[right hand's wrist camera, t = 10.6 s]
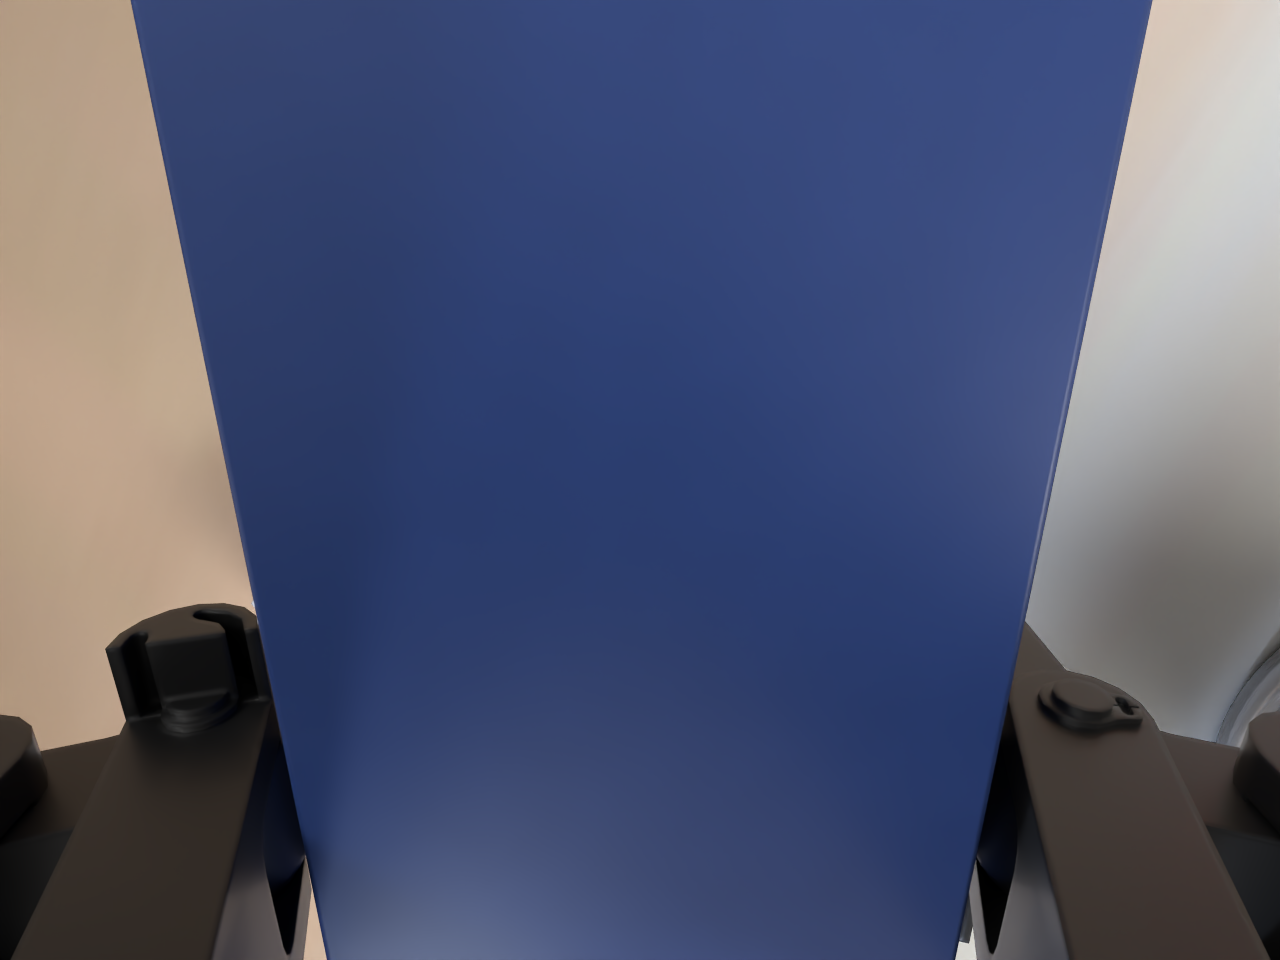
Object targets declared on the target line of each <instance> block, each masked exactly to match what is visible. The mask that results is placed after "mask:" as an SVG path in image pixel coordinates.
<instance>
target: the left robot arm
mask: <svg viewBox="0 0 1280 960" xmlns="http://www.w3.org/2000/svg"><path fill="white" fill-rule="evenodd" d="M1277 711H1280V648H1279V649H1278V650H1277V651H1276V652H1275V653H1274V654H1273V655H1272V656H1271V657H1269V658H1268V659H1267V660H1266V661H1265V662H1264V663H1263V664H1262V665H1261V667H1260V668H1259V669H1258V670H1257V671H1256V672H1255V673H1254V674H1253V675H1252V677H1251V678H1250V679H1249V680H1248V682H1247V683H1246V684H1245V686H1244V687H1243V688H1242V690H1241V691H1240V692H1239V694H1238V696H1237V697H1236V699H1235V700H1234V702H1233V704H1232V705H1231V707H1230V709H1229V711H1228V713H1227V715H1226V717H1225V719H1224V721H1223V723H1222V726H1221V729H1220V731H1219V734H1218V737H1217V741H1216V743H1219V744H1224V745H1229V746H1234V747H1239V748H1240V747H1241V744H1242V742H1243V739H1244V736H1245V733H1246V730H1247V727H1248V724H1249V722H1250V721H1252V720H1253V719H1254V718H1256V717H1257V716H1259V715H1260V714H1261V713H1268V712H1277Z"/></svg>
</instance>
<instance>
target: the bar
mask: <svg viewBox="0 0 1280 960" xmlns="http://www.w3.org/2000/svg"><path fill="white" fill-rule="evenodd" d="M131 4H132V9H133V14H134V19H135V24H136V29H137V33H138V38H139V43H140V48H141V53H142V58H143V63H144V68H145V73H146V77H147V82H148V87H149V92H150V97H151V102H152V107H153V112H154V117H155V121H156V126H157V131H158V136H159V141H160V146H161V151H162V156H163V160H164V165H165V170H166V175H167V180H168V185H169V190H170V195H171V200H172V204H173V209H174V214H175V219H176V224H177V229H178V234H179V239H180V244H181V248H182V253H183V258H184V263H185V268H186V273H187V278H188V283H189V288H190V292H191V297H192V302H193V307H194V312H195V317H196V322H197V327H198V331H199V336H200V341H201V346H202V351H203V356H204V361H205V366H206V371H207V375H208V380H209V385H210V390H211V395H212V400H213V405H214V410H215V415H216V419H217V424H218V429H219V434H220V439H221V444H222V449H223V454H224V459H225V463H226V468H227V473H228V478H229V483H230V488H231V493H232V498H233V502H234V507H235V512H236V517H237V522H238V527H239V532H240V537H241V542H242V546H243V551H244V556H245V561H246V566H247V571H248V576H249V581H250V586H251V590H252V595H253V600H254V605H255V610H256V615H257V620H258V625H259V630H260V634H261V639H262V644H263V649H264V654H265V659H266V664H267V669H268V673H269V678H270V683H271V688H272V693H273V698H274V703H275V708H276V713H277V717H278V722H279V727H280V732H281V737H282V742H283V747H284V752H285V757H286V761H287V766H288V771H289V776H290V781H291V786H292V791H293V796H294V801H295V805H296V810H297V815H298V820H299V825H300V830H301V835H302V840H303V844H304V849H305V854H306V859H307V864H308V869H309V874H310V879H311V884H312V888H313V893H314V898H315V903H316V908H317V913H318V918H319V923H320V928H321V932H322V937H323V942H324V947H325V952H326V957H327V960H955V958H956V953H957V948H958V943H959V938H960V933H961V929H962V924H963V919H964V914H965V909H966V904H967V899H968V895H969V890H970V885H971V880H972V875H973V870H974V865H975V861H976V856H977V851H978V846H979V841H980V836H981V831H982V826H983V822H984V817H985V812H986V807H987V802H988V797H989V792H990V788H991V783H992V778H993V773H994V768H995V763H996V758H997V754H998V749H999V744H1000V739H1001V734H1002V729H1003V724H1004V719H1005V715H1006V710H1007V705H1008V700H1009V695H1010V690H1011V685H1012V681H1013V676H1014V671H1015V666H1016V661H1017V656H1018V651H1019V647H1020V642H1021V637H1022V632H1023V627H1024V622H1025V617H1026V612H1027V608H1028V603H1029V598H1030V593H1031V588H1032V583H1033V578H1034V574H1035V569H1036V564H1037V559H1038V554H1039V549H1040V544H1041V540H1042V535H1043V530H1044V525H1045V520H1046V515H1047V510H1048V505H1049V501H1050V496H1051V491H1052V486H1053V481H1054V476H1055V471H1056V467H1057V462H1058V457H1059V452H1060V447H1061V442H1062V437H1063V433H1064V428H1065V423H1066V418H1067V413H1068V408H1069V403H1070V398H1071V394H1072V389H1073V384H1074V379H1075V374H1076V369H1077V364H1078V360H1079V355H1080V350H1081V345H1082V340H1083V335H1084V330H1085V326H1086V321H1087V316H1088V311H1089V306H1090V301H1091V296H1092V292H1093V287H1094V282H1095V277H1096V272H1097V267H1098V262H1099V257H1100V253H1101V248H1102V243H1103V238H1104V233H1105V228H1106V223H1107V219H1108V214H1109V209H1110V204H1111V199H1112V194H1113V189H1114V185H1115V180H1116V175H1117V170H1118V165H1119V160H1120V155H1121V150H1122V146H1123V141H1124V136H1125V131H1126V126H1127V121H1128V116H1129V112H1130V107H1131V102H1132V97H1133V92H1134V87H1135V82H1136V78H1137V73H1138V68H1139V63H1140V58H1141V53H1142V48H1143V43H1144V39H1145V34H1146V29H1147V24H1148V19H1149V14H1150V9H1151V5H1152V0H131Z"/></svg>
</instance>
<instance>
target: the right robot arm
mask: <svg viewBox="0 0 1280 960" xmlns="http://www.w3.org/2000/svg"><path fill="white" fill-rule="evenodd" d="M105 650H106V653H107V657H108V660H109V663H110V667H111V670H112V674H113V677H114V681H115V684H116V688H117V691H118V694H119V698H120V701H121V705H122V708H123V712H124V715H125V718H126V722H125V724H124V726H123V728H122V731H121V733H120V735H116V736H112V737H109V738H105V739H100V740H95V741H90V742H85V743H80V744H75V745H70V746H64V747H59V748H54V749H49V750H44V751H40V749H39V747H38V744H37V741H36V738H35V735H34V732H33V729H32V726H31V725H29V724H28V723H27V722H25V721H24V720H22V719H21V718H20V717H15V716H6V715H0V960H303V958H304V949H305V941H306V932H307V924H308V915H309V907H310V898H311V883H310V877H309V871H308V866H307V861H306V856H305V855H306V854H305V849H304V844H303V840H302V835H301V830H300V825H299V820H298V815H297V810H296V805H295V801H294V796H293V791H292V786H291V781H290V776H289V771H288V766H287V761H286V757H285V752H284V747H283V742H282V737H281V732H280V727H279V722H278V717H277V713H276V708H275V703H274V698H273V693H272V688H271V683H270V678H269V673H268V669H267V664H266V659H265V654H264V649H263V644H262V639H261V634H260V630H259V625H258V622H257V617H256V615H254V614H253V613H252V612H250V611H249V610H248V609H246V608H245V607H241V606H236V605H231V604H226V603H218V604H197V605H192V606H188V607H183V608H178V609H173V610H169V611H166V612H164V613H161V614H158V615H156V616H153V617H150V618H148V619H145V620H142V621H141V622H139V623H137V624H136V625H134V626H132V627H130V628H129V629H127V630H125V631H124V632H122V633H120V634H119V635H118V636H117V637H116V638H115V639H114V640H113V641H112V642H111V643H110V645H109V646H108V647H107V648H106V649H105ZM972 927H973V930H974V939H975V947H976V956H977V960H1280V711H1277V712H1268V713H1261V714H1260V715H1259V716H1257V717H1256V718H1254V719H1253V720H1252V721H1250V722H1249V724H1248V727H1247V730H1246V733H1245V736H1244V739H1243V742H1242V744H1241V747H1240V748H1239V747H1234V746H1229V745H1224V744H1219V743H1214V742H1209V741H1203V740H1198V739H1193V738H1188V737H1183V736H1178V735H1174V734H1170V733H1166V732H1162V731H1159V729H1158V727H1157V725H1156V723H1155V721H1154V719H1153V718H1152V717H1151V715H1150V714H1149V713H1148V712H1147V710H1146V709H1145V708H1144V707H1143V705H1142V704H1141V703H1140V702H1138V701H1137V700H1135V699H1134V698H1132V697H1131V696H1130V695H1128V694H1127V693H1125V692H1124V691H1122V690H1121V689H1119V688H1117V687H1115V686H1113V685H1110V684H1108V683H1106V682H1103V681H1101V680H1099V679H1096V678H1094V677H1091V676H1087V675H1082V674H1078V673H1074V672H1070V671H1066V670H1065V669H1064V667H1063V666H1062V665H1061V664H1060V663H1059V661H1058V660H1057V659H1056V658H1055V657H1054V655H1053V654H1052V653H1051V652H1050V651H1049V649H1048V648H1047V647H1046V646H1045V645H1044V643H1043V642H1042V641H1041V640H1040V639H1039V637H1038V636H1037V635H1036V634H1035V633H1034V631H1033V630H1032V629H1031V628H1030V627H1029V625H1028V624H1027V623H1026V622H1024V627H1023V632H1022V637H1021V642H1020V647H1019V651H1018V656H1017V661H1016V666H1015V671H1014V676H1013V681H1012V685H1011V690H1010V695H1009V700H1008V705H1007V710H1006V715H1005V719H1004V724H1003V729H1002V734H1001V739H1000V744H999V749H998V754H997V758H996V763H995V768H994V773H993V778H992V783H991V788H990V792H989V797H988V802H987V807H986V812H985V817H984V822H983V826H982V831H981V836H980V841H979V846H978V851H977V856H976V861H975V865H974V870H973V875H972V880H971V885H970V890H969V895H968V899H967V904H966V909H965V914H964V919H963V924H962V929H961V933H960V938H959V941H960V942H965V943H969V941H970V936H971V932H972Z"/></svg>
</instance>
